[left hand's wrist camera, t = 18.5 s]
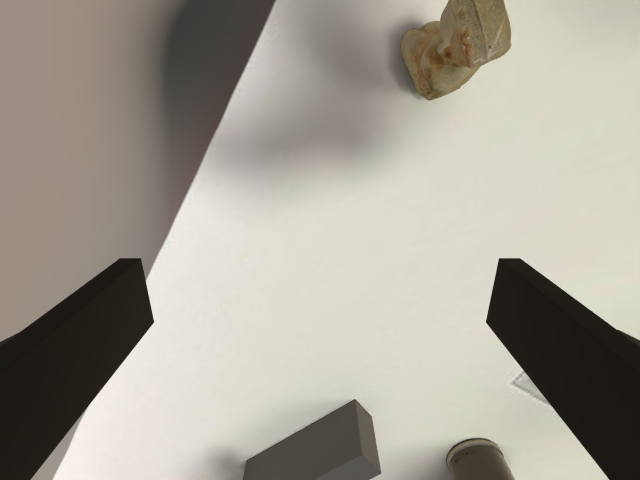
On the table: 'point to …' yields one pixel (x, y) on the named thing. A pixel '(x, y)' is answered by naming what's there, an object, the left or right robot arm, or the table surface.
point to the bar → (323, 450)
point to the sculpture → (456, 45)
